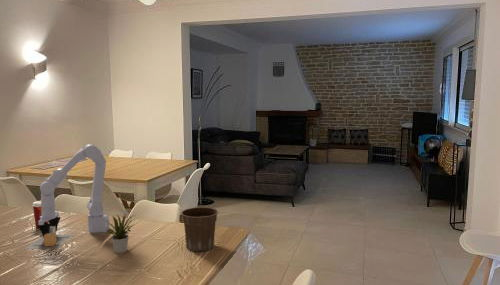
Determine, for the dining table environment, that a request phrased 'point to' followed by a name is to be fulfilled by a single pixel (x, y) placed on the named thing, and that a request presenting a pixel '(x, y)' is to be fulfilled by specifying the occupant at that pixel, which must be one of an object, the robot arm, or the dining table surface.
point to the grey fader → (52, 229)
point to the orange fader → (50, 239)
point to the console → (40, 245)
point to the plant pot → (199, 228)
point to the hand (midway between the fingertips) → (50, 235)
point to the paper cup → (37, 212)
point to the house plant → (120, 234)
